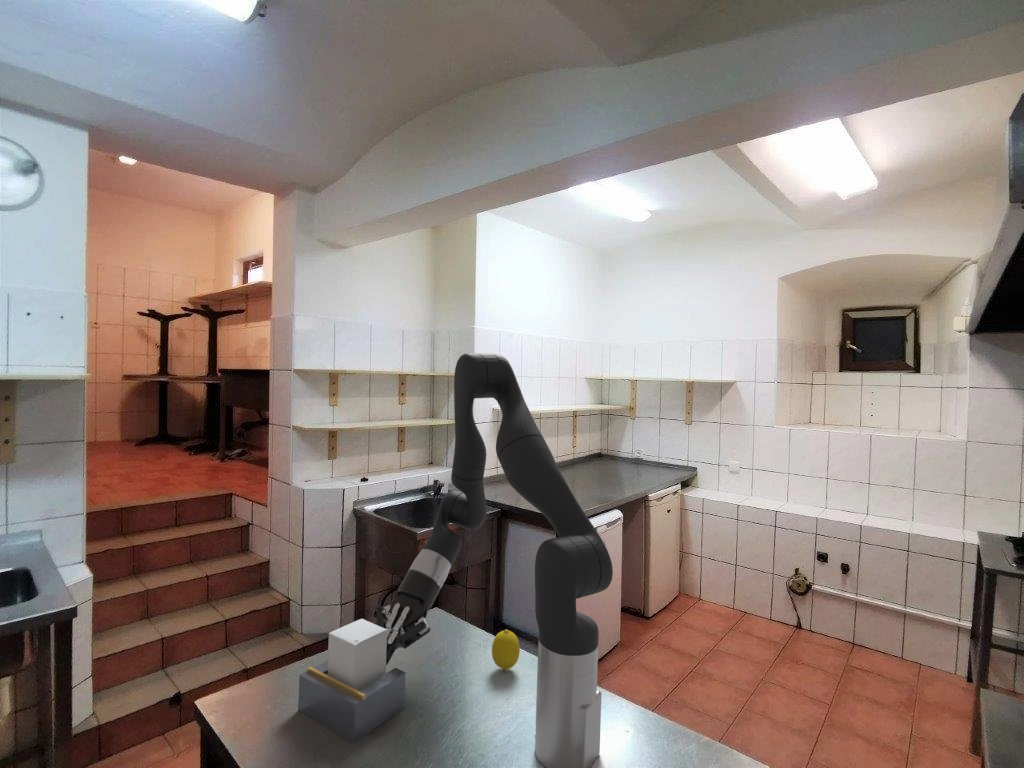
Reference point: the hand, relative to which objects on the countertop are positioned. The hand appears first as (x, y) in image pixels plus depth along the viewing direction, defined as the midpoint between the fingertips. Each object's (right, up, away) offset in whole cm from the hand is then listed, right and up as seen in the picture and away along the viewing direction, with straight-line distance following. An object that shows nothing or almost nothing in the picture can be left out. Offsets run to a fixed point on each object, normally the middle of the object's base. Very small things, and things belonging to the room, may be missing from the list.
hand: (377, 665), depth 91 cm
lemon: (+23, -6, +9) cm, 25 cm away
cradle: (-2, -5, -4) cm, 7 cm away
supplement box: (-3, -5, -3) cm, 7 cm away
